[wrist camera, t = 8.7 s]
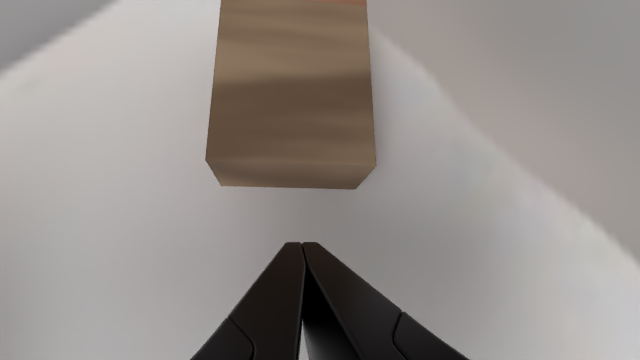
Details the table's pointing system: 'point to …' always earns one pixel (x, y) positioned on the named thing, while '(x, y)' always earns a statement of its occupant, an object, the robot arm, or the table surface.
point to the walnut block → (292, 95)
